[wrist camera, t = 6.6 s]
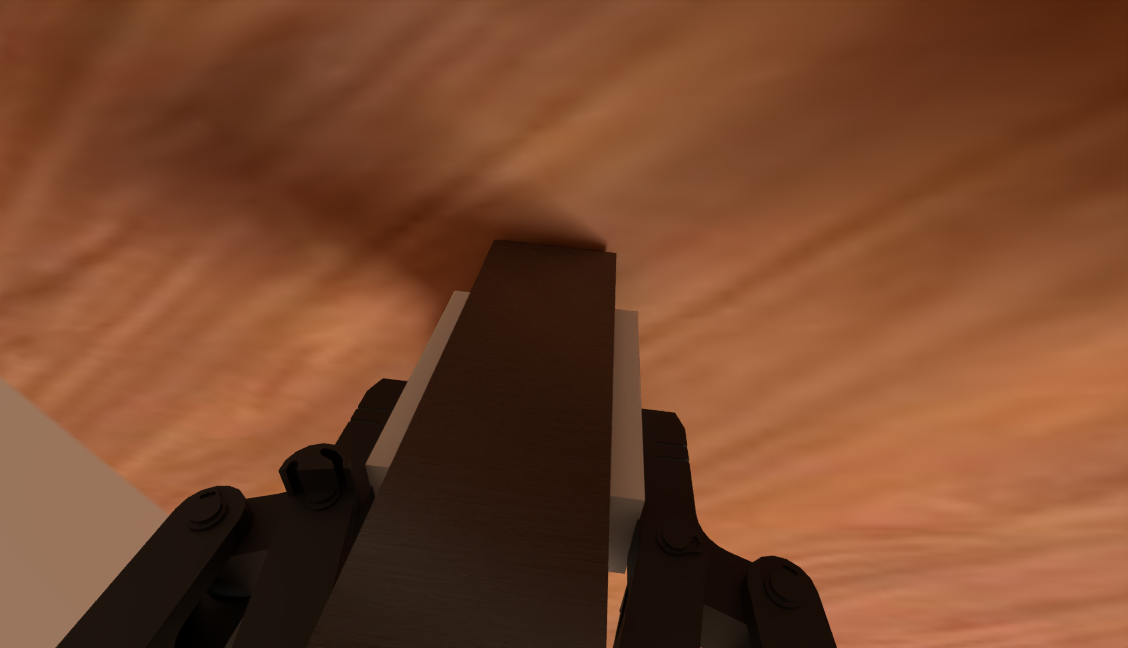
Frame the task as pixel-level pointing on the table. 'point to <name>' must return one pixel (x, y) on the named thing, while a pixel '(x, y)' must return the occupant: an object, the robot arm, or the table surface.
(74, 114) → the table surface
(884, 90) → the table surface
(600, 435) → the piston
